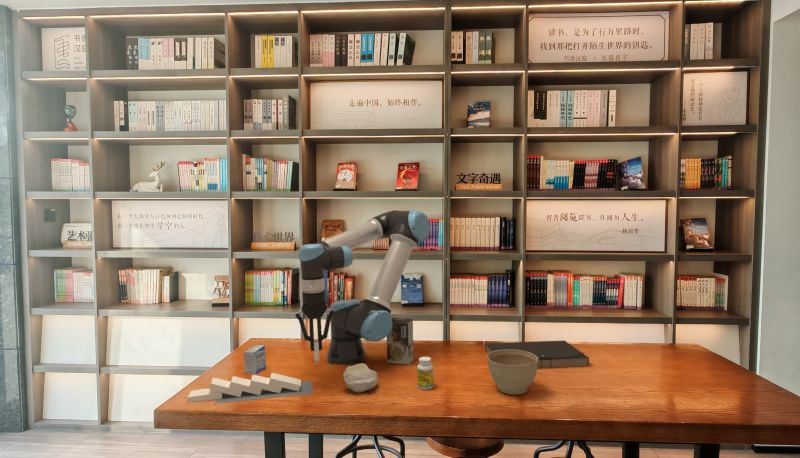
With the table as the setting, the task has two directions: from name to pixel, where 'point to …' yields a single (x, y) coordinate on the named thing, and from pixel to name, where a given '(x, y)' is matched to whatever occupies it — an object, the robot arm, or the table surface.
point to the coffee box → (400, 342)
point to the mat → (268, 394)
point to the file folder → (546, 352)
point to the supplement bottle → (425, 373)
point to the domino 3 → (243, 385)
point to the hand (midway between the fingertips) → (316, 359)
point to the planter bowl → (512, 370)
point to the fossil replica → (360, 378)
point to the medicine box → (255, 359)
